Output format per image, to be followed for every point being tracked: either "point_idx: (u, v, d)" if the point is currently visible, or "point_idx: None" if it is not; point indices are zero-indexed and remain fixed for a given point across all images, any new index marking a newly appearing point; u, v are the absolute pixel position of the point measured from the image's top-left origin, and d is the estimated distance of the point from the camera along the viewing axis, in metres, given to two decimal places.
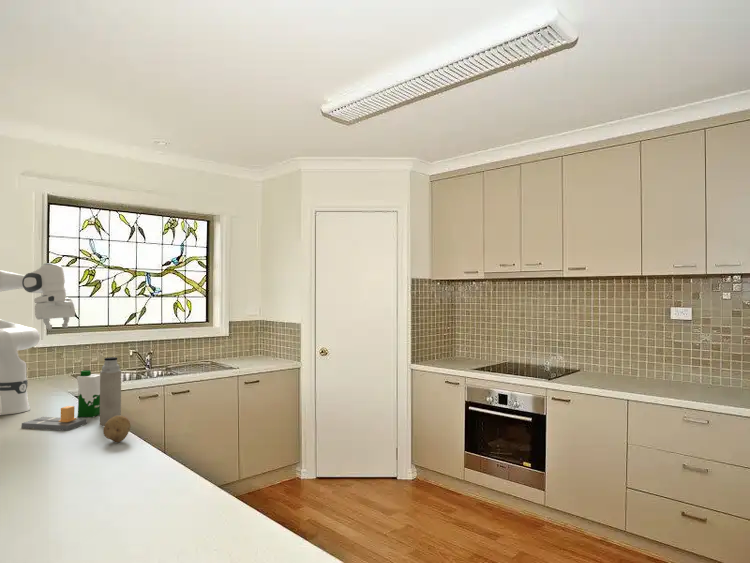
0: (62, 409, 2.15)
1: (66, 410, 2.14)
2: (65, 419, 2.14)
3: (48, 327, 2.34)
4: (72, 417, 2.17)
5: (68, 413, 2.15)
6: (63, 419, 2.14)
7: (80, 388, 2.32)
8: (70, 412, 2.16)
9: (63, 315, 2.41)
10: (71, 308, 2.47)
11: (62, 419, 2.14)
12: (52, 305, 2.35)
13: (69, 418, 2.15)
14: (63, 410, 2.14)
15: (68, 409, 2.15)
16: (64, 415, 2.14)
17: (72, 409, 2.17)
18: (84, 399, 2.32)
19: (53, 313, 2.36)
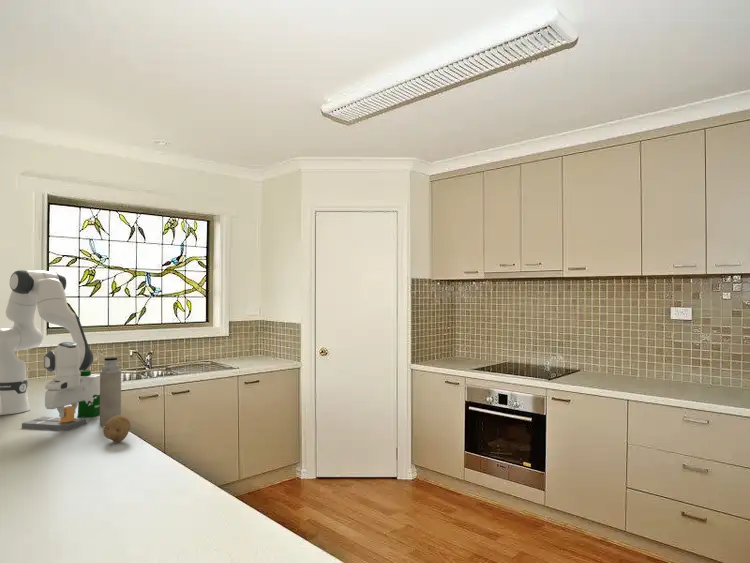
0: None
1: (66, 410, 2.14)
2: (65, 419, 2.14)
3: (61, 415, 2.13)
4: (72, 417, 2.17)
5: (68, 413, 2.15)
6: (63, 419, 2.14)
7: None
8: (70, 412, 2.16)
9: (75, 400, 2.18)
10: (84, 391, 2.24)
11: (62, 419, 2.14)
12: (64, 392, 2.12)
13: (69, 418, 2.15)
14: None
15: (68, 409, 2.15)
16: None
17: (72, 409, 2.17)
18: None
19: (65, 400, 2.13)
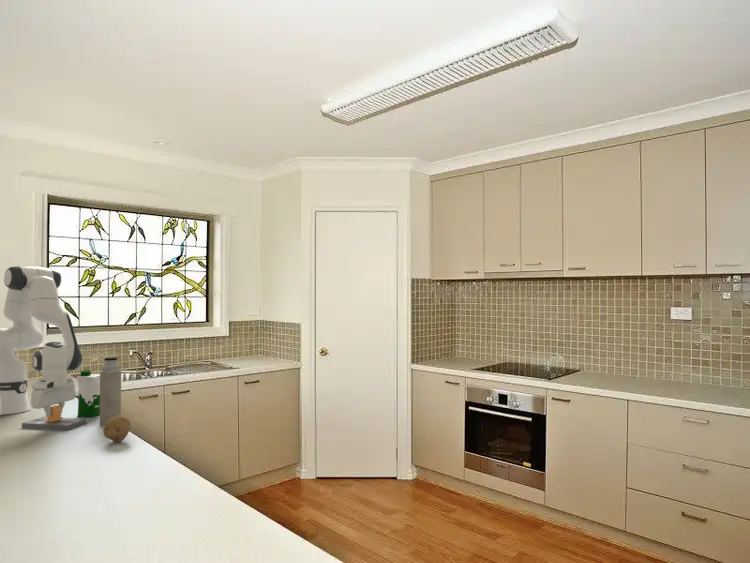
0: (49, 408, 2.16)
1: (52, 409, 2.15)
2: (52, 418, 2.15)
3: (48, 415, 2.14)
4: (59, 416, 2.18)
5: (55, 413, 2.16)
6: (49, 419, 2.15)
7: (80, 388, 2.32)
8: (57, 411, 2.17)
9: (62, 400, 2.19)
10: (71, 390, 2.25)
11: (49, 418, 2.15)
12: (51, 391, 2.13)
13: (56, 417, 2.16)
14: None
15: (55, 408, 2.16)
16: None
17: (59, 408, 2.18)
18: (84, 400, 2.32)
19: (51, 400, 2.14)
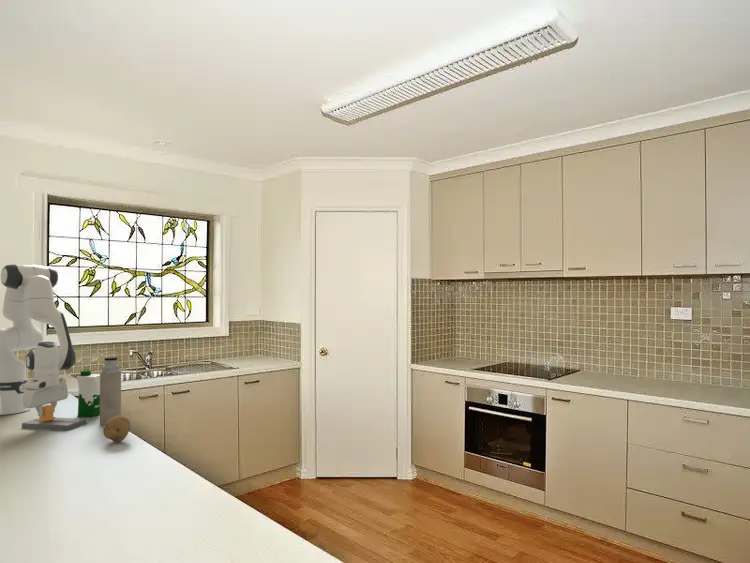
0: None
1: (44, 409, 2.16)
2: (44, 418, 2.16)
3: (40, 414, 2.15)
4: (51, 416, 2.19)
5: (47, 412, 2.17)
6: (41, 418, 2.16)
7: (80, 388, 2.32)
8: (49, 411, 2.18)
9: (54, 400, 2.20)
10: (64, 390, 2.25)
11: (41, 418, 2.16)
12: (43, 391, 2.14)
13: (48, 417, 2.17)
14: None
15: (47, 408, 2.17)
16: None
17: (51, 408, 2.19)
18: (84, 399, 2.32)
19: (43, 399, 2.14)
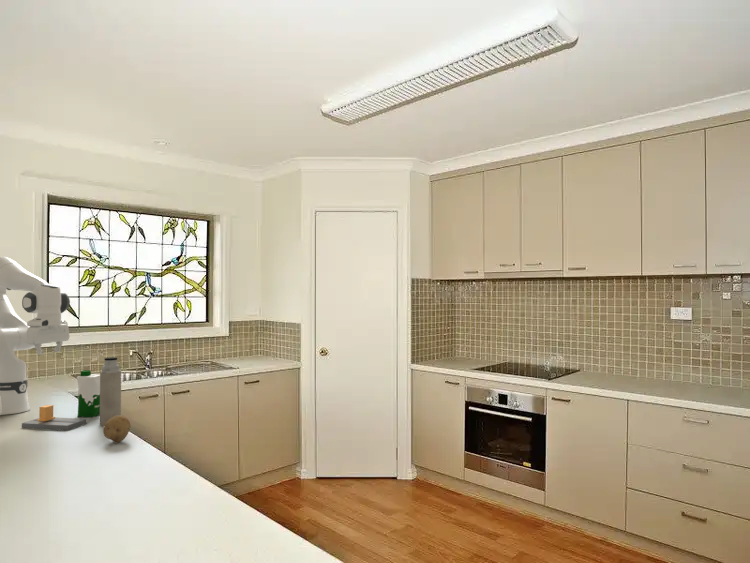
0: (41, 408, 2.16)
1: (44, 409, 2.16)
2: (44, 418, 2.16)
3: (39, 353, 2.21)
4: (51, 416, 2.19)
5: (47, 412, 2.17)
6: (41, 418, 2.16)
7: (80, 388, 2.32)
8: (49, 411, 2.18)
9: (56, 339, 2.28)
10: (65, 332, 2.34)
11: (41, 418, 2.16)
12: (45, 329, 2.22)
13: (48, 417, 2.17)
14: (41, 409, 2.16)
15: (47, 408, 2.17)
16: (43, 414, 2.16)
17: (51, 408, 2.19)
18: (84, 400, 2.32)
19: (46, 338, 2.23)
